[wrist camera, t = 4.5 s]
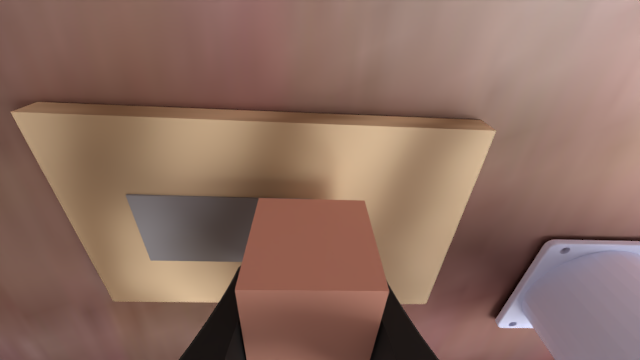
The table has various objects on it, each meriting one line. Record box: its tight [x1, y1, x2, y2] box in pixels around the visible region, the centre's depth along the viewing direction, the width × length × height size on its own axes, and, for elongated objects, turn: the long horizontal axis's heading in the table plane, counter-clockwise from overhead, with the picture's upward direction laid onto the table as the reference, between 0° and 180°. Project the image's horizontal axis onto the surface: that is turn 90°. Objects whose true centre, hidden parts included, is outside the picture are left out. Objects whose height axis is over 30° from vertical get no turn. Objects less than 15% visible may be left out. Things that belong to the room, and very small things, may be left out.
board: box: [11, 102, 496, 304], centre depth 14 cm, size 18×11×1 cm, turn 87°
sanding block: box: [235, 198, 389, 360], centre depth 11 cm, size 4×6×4 cm, turn 177°
